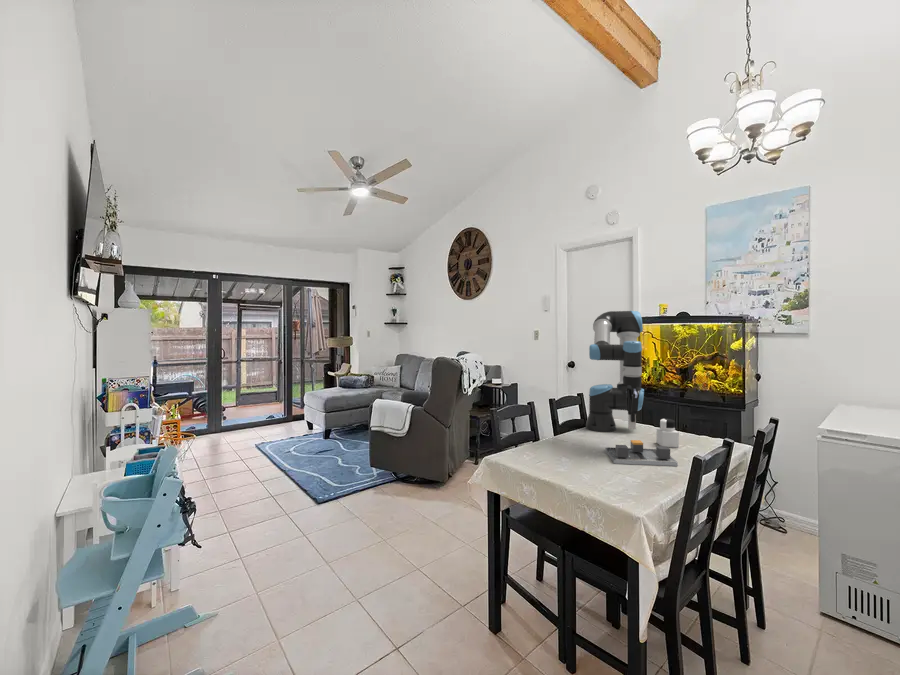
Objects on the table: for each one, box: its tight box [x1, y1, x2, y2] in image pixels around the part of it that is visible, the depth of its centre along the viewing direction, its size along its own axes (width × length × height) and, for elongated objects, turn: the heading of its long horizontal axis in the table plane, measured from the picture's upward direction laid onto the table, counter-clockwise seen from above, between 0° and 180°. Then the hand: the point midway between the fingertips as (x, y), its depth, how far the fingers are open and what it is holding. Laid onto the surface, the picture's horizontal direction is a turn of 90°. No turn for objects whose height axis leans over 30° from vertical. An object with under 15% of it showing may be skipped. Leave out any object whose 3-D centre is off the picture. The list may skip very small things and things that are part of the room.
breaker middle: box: [630, 439, 644, 452], centre depth 174 cm, size 4×4×4 cm
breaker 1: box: [615, 444, 629, 458], centre depth 168 cm, size 4×4×4 cm
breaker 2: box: [655, 445, 671, 459], centre depth 166 cm, size 4×4×4 cm
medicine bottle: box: [655, 418, 680, 448], centre depth 188 cm, size 7×7×12 cm
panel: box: [604, 447, 679, 467], centre depth 171 cm, size 16×24×2 cm, turn 81°
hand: (631, 428), depth 181 cm, fingers closed
